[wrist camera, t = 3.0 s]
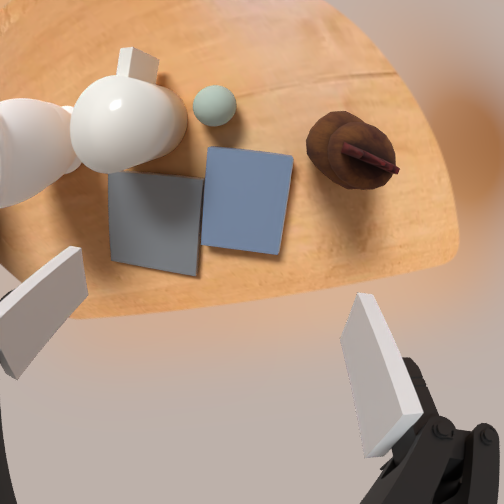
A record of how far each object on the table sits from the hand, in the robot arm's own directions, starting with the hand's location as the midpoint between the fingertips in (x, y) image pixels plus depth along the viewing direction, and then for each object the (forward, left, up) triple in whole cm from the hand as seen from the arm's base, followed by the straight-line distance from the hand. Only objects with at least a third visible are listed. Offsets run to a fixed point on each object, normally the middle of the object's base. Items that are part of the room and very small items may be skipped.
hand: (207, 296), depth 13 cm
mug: (-11, +8, -19) cm, 23 cm away
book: (0, 0, -19) cm, 19 cm away
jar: (-23, +5, -19) cm, 30 cm away
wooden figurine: (+8, +7, -19) cm, 22 cm away
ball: (-4, +9, -19) cm, 21 cm away
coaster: (-10, -4, -19) cm, 22 cm away
